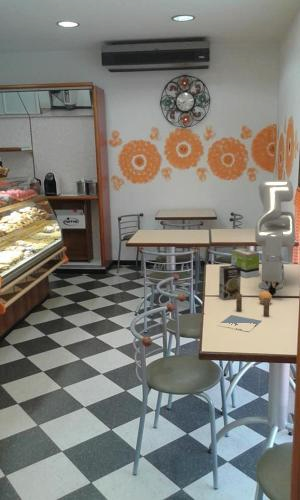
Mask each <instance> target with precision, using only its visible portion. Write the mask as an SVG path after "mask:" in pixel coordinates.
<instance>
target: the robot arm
mask: <svg viewBox="0 0 300 500" xmlns="http://www.w3.org/2000/svg"><path fill="white" fill-rule="evenodd" d="M258 194H259V197H260V198H259V199H260V202H261V204H262V207H263V214H262V215H261V216H260V217H259V218H258V219H257V221H256V224H255V228H254V230H255V231H254V232H255V234H254V235H255V236H254V239H255V243H256V244H257V245H258V246H261V282H259V283H258V288H261V289H262V290H263V289H264V290H268V292H269V293H270V294H271V296H272V297H273V296H274V295H275V294H277V290H281V289H283V287H284V280H285V267H284V261H283V260H284V259H285V257H284V256H282V248H292V247H294V246H295V244H296V225H295V222H296V221H295V216H294V213H292V211H282V202H283V203H284V202H285V203H286V202H288V203H289V202H292V200H293V199H294V186H293V184H292V181H291V180H289V179H277V180H276V179H271V180H269V179H268V180H264V181H261V182H260V183H259V186H258ZM263 225H264V228H266V229H264V230H262V227H263Z"/></svg>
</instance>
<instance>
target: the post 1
mask: <svg viewBox="0 0 300 500" xmlns="http://www.w3.org/2000/svg"><path fill="white" fill-rule="evenodd" d="M242 296H243V293H240V294H236V299H235V301H236V302H235V306H236V308H235V311H236V312H237V313H239V312H240V313H241V312H242V311H243V309H242V307H243V305H242V304H243V303H242V302H243V301H242V300H243V297H242Z"/></svg>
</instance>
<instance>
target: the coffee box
mask: <svg viewBox="0 0 300 500" xmlns="http://www.w3.org/2000/svg"><path fill="white" fill-rule="evenodd" d="M218 270H219V276H218V277H219V279H218V281H219V284H218V285H219V286H218V288H219V289H218V290H219V291H218V297H219V298H221V300H223V301H228V300H236V294H241V281H242V279H241V278H242V276H241V267H239V266H236V265H221V266H219V269H218Z"/></svg>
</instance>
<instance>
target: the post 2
mask: <svg viewBox="0 0 300 500" xmlns="http://www.w3.org/2000/svg"><path fill="white" fill-rule="evenodd" d="M262 315H263V317H266V318H268V317H270V302H269V298H264V303H263V313H262Z"/></svg>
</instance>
